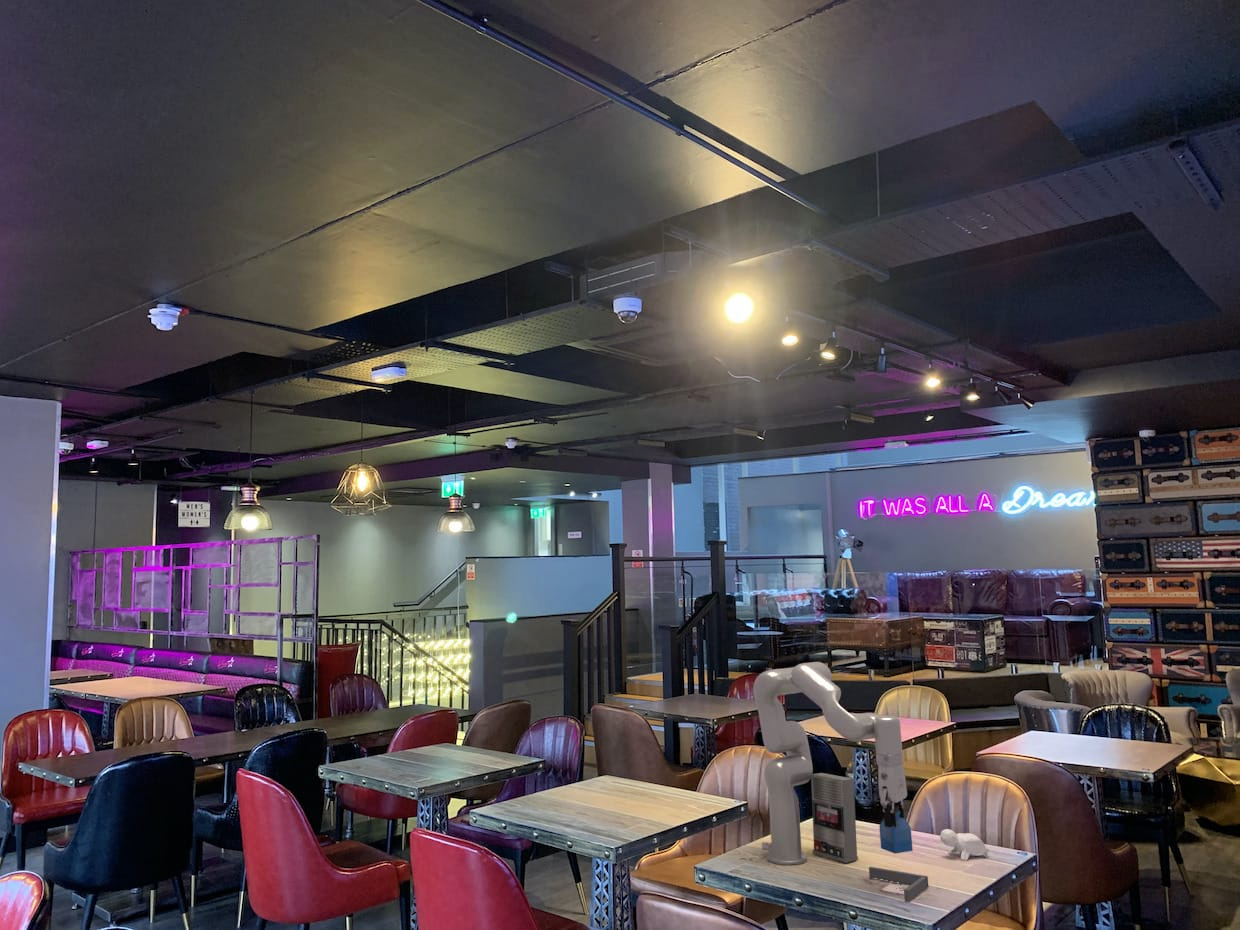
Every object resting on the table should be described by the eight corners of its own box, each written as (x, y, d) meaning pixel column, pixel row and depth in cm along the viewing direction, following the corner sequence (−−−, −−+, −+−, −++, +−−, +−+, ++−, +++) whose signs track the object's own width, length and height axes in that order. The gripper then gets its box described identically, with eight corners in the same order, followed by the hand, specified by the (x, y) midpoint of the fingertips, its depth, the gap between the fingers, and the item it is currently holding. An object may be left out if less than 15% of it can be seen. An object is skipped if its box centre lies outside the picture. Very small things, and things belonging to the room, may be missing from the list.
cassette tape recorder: (812, 854, 287) (809, 774, 291) (824, 851, 290) (821, 772, 294) (845, 863, 276) (841, 780, 280) (858, 860, 279) (854, 778, 283)
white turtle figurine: (971, 861, 285) (931, 847, 283) (977, 835, 287) (937, 820, 285) (987, 869, 276) (945, 854, 274) (993, 842, 278) (952, 827, 276)
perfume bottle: (912, 850, 251) (909, 806, 253) (895, 853, 249) (891, 809, 250) (898, 845, 257) (894, 802, 258) (881, 848, 254) (877, 805, 256)
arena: (850, 891, 251) (849, 879, 251) (871, 877, 263) (870, 866, 263) (909, 902, 240) (908, 890, 241) (928, 887, 252) (927, 876, 252)
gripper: (890, 765, 248) (896, 833, 245) (912, 756, 261) (918, 819, 258) (865, 763, 252) (870, 829, 249) (888, 754, 265) (893, 816, 263)
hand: (894, 823), depth 254 cm, fingers closed on perfume bottle, 5 cm apart
